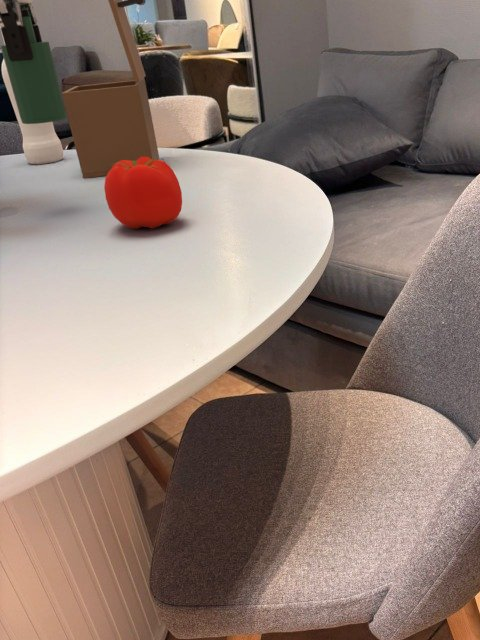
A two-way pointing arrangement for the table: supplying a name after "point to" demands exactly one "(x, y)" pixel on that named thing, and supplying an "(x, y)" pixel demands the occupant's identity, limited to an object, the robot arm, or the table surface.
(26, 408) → the table surface
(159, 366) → the table surface
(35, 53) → the bottle small
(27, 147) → the bottle
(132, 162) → the tomato
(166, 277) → the table surface
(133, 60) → the case lid
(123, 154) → the case
